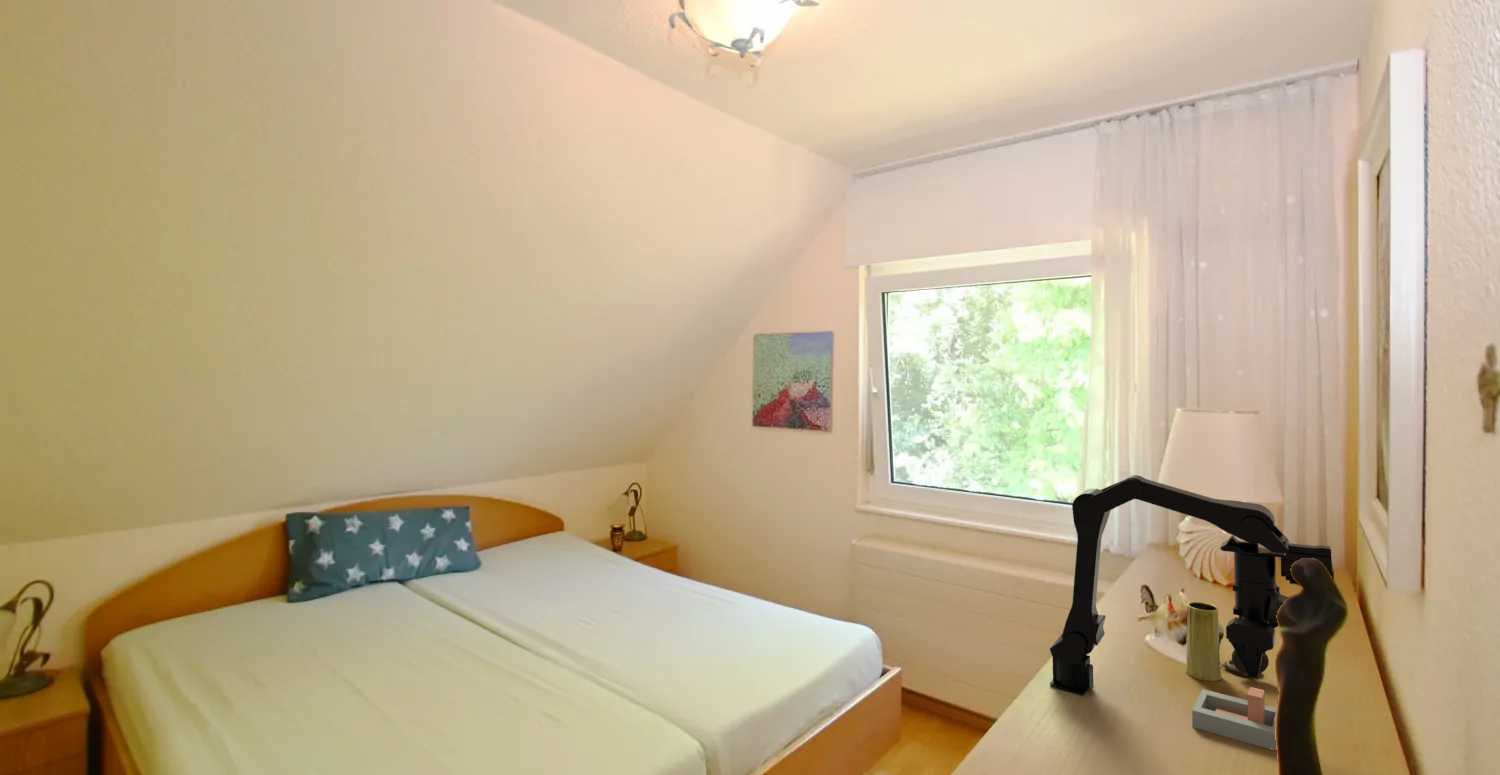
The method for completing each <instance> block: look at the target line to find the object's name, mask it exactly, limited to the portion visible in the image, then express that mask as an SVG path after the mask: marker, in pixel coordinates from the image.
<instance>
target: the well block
mask: <svg viewBox="0 0 1500 775" xmlns="http://www.w3.org/2000/svg"><path fill="white" fill-rule="evenodd" d="M1216 708H1217V709H1220V710H1224V711H1228V712H1231V713H1235V714H1239V715H1243V716H1246V717H1248V699H1244V698H1239V697H1235V696H1232V695H1228V694H1223V693H1219V692H1215V691H1212V690H1209V689H1208V690H1207V689H1204V688H1202V689H1201V691H1200V693H1199V696H1198V697H1197V699H1196V702H1195V704H1194V705H1193V708H1192V710H1191V711H1192V712H1191V713H1192V715H1191V716H1192V717H1191V719H1192V720H1191V721H1192V726H1191V727H1192V728H1195V729H1198V730H1202V731H1206V732H1209V733H1212V734H1216V735H1219V736H1223V737H1226V738H1230V739H1233V740H1236V741H1240V742H1243V743H1246V744H1249V745H1254V746H1258V747H1260V748H1264V749H1267V750H1271V748H1272V749H1274V750H1273V751H1274V752H1277V751H1276V740H1275V723H1276V710H1277V708H1278V707H1274V706H1271V705H1267V704H1265V725H1264V724H1260V723H1257V722H1253V721H1249V720H1245V719H1242V718H1238V717H1234V716H1231V715H1227V714H1223V713H1219V712H1216V711H1215V710H1216Z"/></svg>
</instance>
